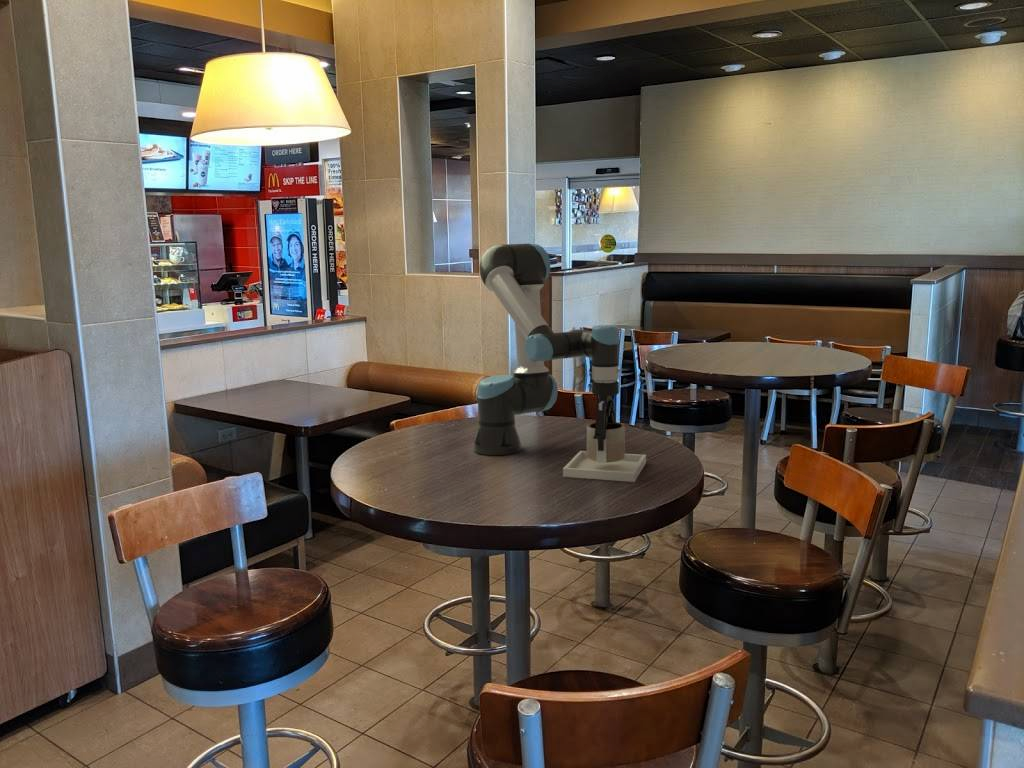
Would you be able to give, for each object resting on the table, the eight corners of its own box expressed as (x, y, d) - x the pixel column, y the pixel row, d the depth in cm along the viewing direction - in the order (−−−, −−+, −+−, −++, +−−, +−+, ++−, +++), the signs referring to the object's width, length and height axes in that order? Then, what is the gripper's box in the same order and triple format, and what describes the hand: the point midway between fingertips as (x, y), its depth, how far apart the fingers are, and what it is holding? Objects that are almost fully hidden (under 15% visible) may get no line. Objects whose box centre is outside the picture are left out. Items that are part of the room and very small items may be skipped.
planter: (580, 460, 222) (580, 427, 221) (595, 451, 232) (594, 420, 230) (617, 464, 217) (617, 431, 216) (630, 455, 227) (630, 423, 225)
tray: (563, 476, 219) (562, 468, 219) (580, 458, 238) (579, 450, 237) (634, 482, 213) (634, 473, 212) (646, 462, 231) (646, 454, 231)
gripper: (610, 388, 209) (610, 467, 212) (626, 374, 231) (626, 447, 234) (582, 387, 211) (583, 466, 215) (601, 373, 233) (601, 445, 237)
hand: (605, 456), depth 225 cm, fingers closed on planter, 11 cm apart
